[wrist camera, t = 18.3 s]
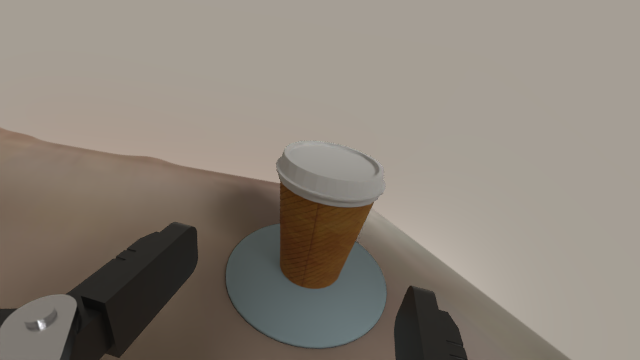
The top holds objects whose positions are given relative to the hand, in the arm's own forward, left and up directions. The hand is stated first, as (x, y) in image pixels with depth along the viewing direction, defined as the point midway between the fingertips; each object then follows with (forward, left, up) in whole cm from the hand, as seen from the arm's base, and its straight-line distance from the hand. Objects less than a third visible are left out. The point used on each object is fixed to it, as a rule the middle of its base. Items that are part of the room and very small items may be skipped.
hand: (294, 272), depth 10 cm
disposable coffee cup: (+5, -13, -13) cm, 19 cm away
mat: (+5, -13, -13) cm, 19 cm away
